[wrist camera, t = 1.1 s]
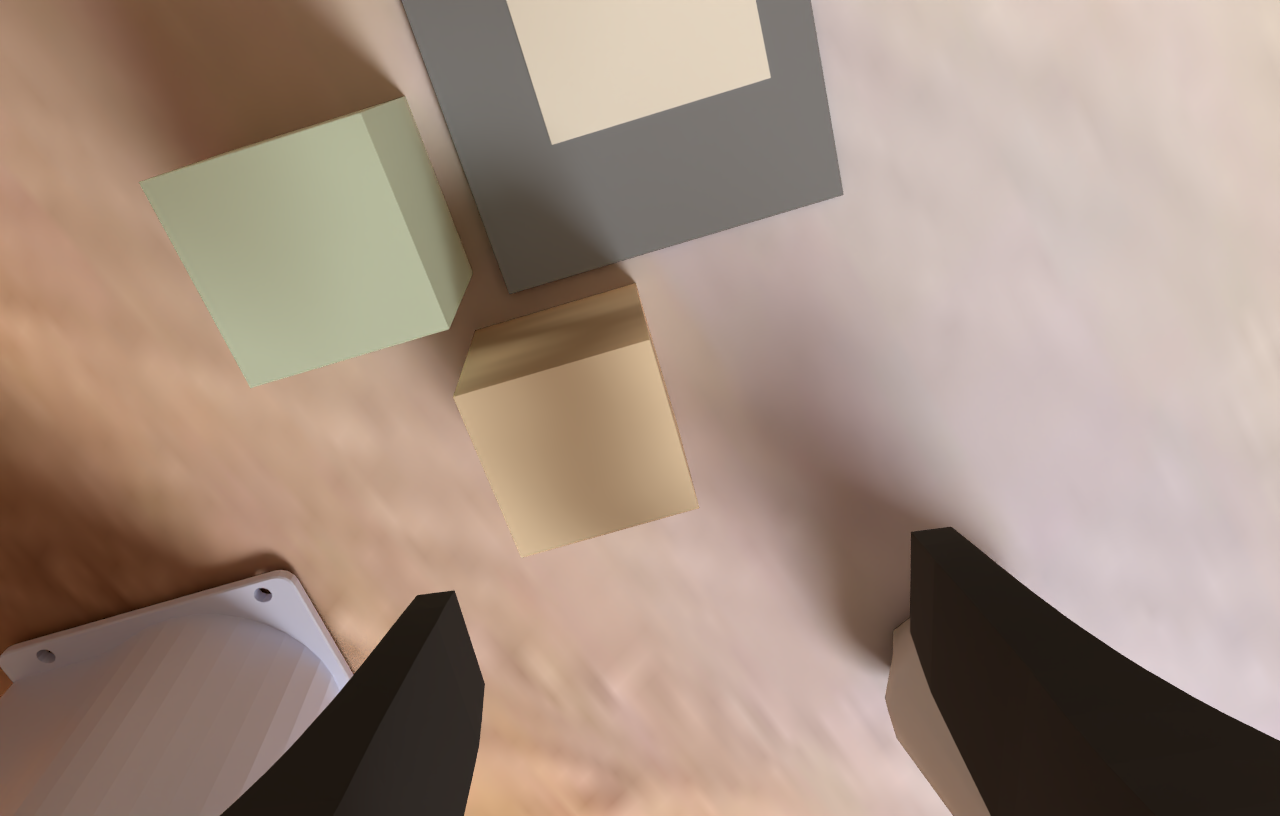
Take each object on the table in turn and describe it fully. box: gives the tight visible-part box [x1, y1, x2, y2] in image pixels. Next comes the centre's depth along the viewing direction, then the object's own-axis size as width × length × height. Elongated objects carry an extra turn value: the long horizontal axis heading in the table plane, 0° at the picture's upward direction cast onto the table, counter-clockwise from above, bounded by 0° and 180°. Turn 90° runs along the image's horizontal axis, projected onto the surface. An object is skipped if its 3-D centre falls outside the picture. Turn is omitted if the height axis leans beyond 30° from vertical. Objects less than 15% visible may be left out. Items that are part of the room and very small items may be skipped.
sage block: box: [139, 96, 473, 388], centre depth 18 cm, size 4×4×4 cm
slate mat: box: [401, 0, 843, 294], centre depth 19 cm, size 9×10×1 cm
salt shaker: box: [885, 618, 991, 816], centre depth 22 cm, size 6×6×13 cm
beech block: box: [453, 283, 699, 558], centre depth 21 cm, size 4×4×4 cm
